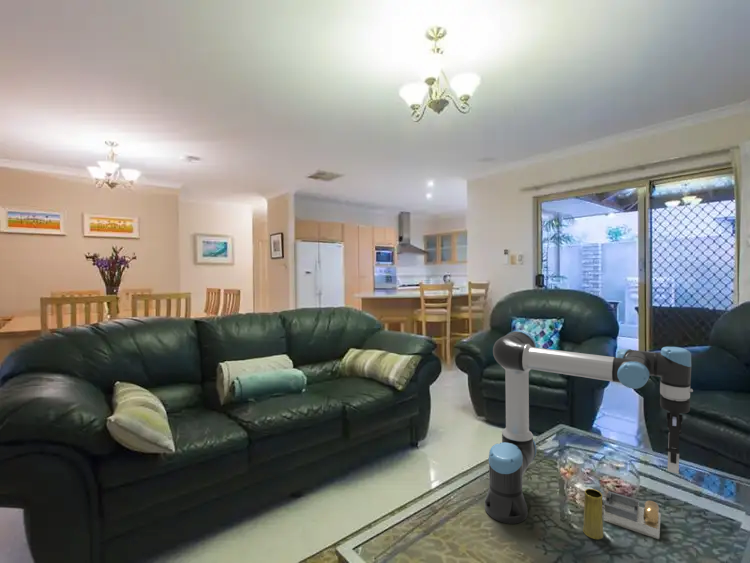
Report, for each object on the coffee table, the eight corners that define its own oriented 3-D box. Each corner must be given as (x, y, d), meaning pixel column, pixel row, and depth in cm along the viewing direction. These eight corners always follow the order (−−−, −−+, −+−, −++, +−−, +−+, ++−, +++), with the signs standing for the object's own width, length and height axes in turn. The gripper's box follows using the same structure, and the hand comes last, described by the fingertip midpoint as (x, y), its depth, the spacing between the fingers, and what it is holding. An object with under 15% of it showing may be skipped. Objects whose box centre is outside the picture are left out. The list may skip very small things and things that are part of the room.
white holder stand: (603, 520, 139) (603, 500, 139) (607, 505, 147) (607, 486, 147) (659, 539, 129) (659, 518, 129) (660, 522, 137) (660, 502, 137)
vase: (606, 540, 130) (606, 499, 129) (586, 538, 131) (586, 497, 130) (599, 528, 136) (600, 488, 135) (580, 526, 137) (580, 486, 136)
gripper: (691, 413, 111) (689, 485, 113) (689, 387, 131) (687, 448, 132) (658, 407, 116) (657, 476, 117) (661, 383, 135) (659, 442, 137)
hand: (673, 462), depth 125 cm, fingers open, 13 cm apart
